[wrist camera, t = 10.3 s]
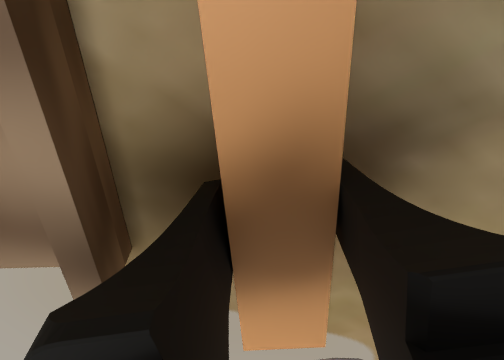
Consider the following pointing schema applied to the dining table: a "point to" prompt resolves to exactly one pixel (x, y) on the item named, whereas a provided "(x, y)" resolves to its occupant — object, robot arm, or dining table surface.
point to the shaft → (280, 155)
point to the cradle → (53, 153)
